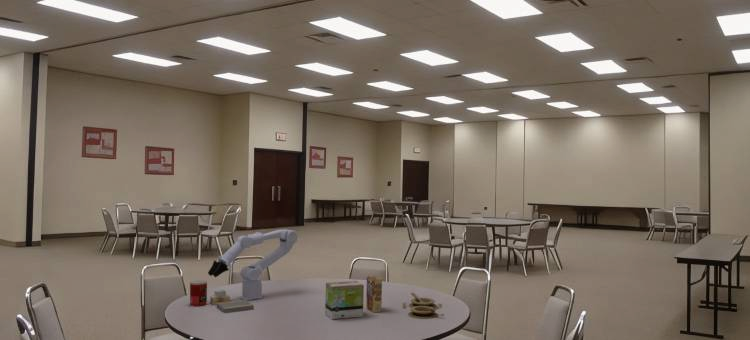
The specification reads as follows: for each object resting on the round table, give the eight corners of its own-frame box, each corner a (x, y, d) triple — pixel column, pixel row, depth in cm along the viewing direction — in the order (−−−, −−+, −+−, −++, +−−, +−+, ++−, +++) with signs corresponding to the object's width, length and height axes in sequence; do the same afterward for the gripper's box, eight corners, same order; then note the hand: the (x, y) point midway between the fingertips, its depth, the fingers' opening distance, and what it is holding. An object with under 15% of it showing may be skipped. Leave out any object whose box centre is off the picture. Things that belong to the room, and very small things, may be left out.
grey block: (223, 295, 281) (223, 289, 281) (225, 296, 278) (225, 291, 278) (214, 296, 279) (214, 290, 279) (216, 297, 276) (216, 292, 276)
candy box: (382, 311, 264) (382, 278, 264) (374, 312, 262) (374, 279, 262) (374, 307, 272) (374, 275, 272) (365, 308, 270) (366, 276, 270)
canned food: (202, 306, 272) (202, 283, 272) (186, 305, 273) (186, 283, 273) (209, 303, 279) (209, 280, 279) (195, 302, 281) (195, 280, 281)
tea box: (332, 320, 248) (332, 286, 248) (324, 314, 258) (324, 282, 258) (363, 316, 254) (364, 283, 254) (355, 311, 264) (355, 279, 264)
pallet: (226, 301, 283) (226, 294, 283) (229, 303, 279) (229, 296, 279) (210, 303, 279) (210, 296, 279) (213, 305, 274) (213, 298, 274)
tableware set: (402, 304, 282) (402, 292, 282) (442, 304, 280) (442, 292, 280) (401, 319, 252) (401, 306, 252) (446, 320, 251) (446, 307, 251)
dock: (245, 304, 277) (245, 299, 277) (253, 309, 267) (253, 304, 267) (216, 307, 270) (216, 303, 270) (224, 313, 260) (224, 308, 260)
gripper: (221, 248, 288) (201, 268, 282) (230, 250, 276) (210, 270, 270) (230, 258, 291) (211, 278, 285) (240, 260, 279) (220, 280, 273)
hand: (211, 275), depth 278 cm, fingers open, 7 cm apart
